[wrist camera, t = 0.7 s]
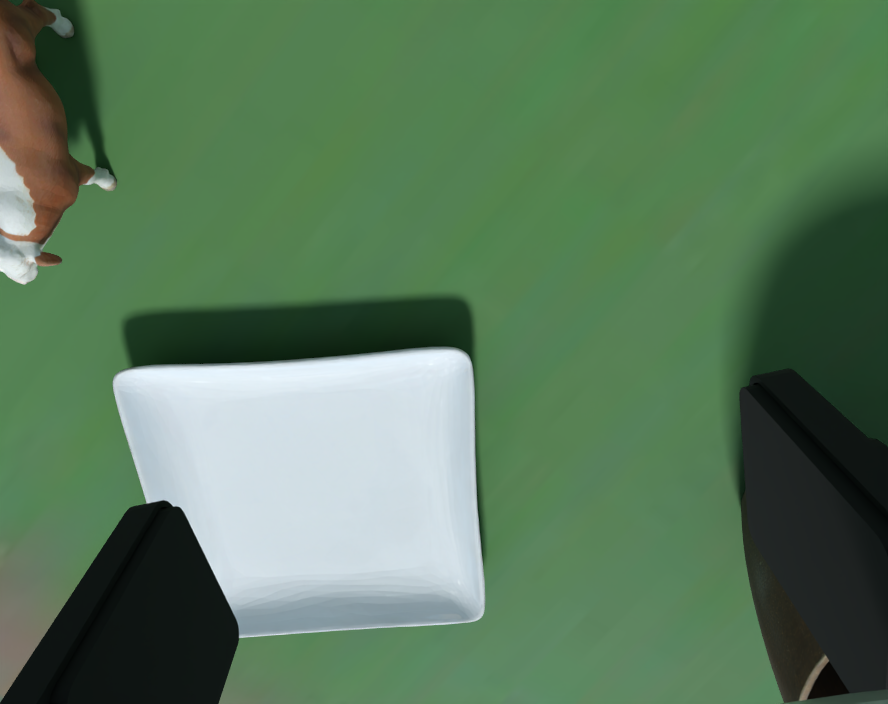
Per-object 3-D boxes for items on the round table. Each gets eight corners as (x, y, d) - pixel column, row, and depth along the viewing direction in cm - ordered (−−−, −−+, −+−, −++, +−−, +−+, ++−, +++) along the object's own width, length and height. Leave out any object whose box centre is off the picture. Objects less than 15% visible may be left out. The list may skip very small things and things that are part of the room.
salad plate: (469, 325, 42) (472, 347, 39) (483, 591, 50) (487, 627, 47) (126, 347, 42) (101, 371, 39) (199, 607, 51) (183, 644, 48)
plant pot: (683, 418, 44) (805, 602, 30) (919, 383, 43) (1165, 555, 29) (687, 592, 50) (790, 816, 36) (894, 564, 49) (1086, 782, 35)
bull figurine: (57, 251, 39) (-32, 300, 32) (-7, -14, 34) (-132, -30, 26) (133, 251, 39) (63, 300, 32) (82, -13, 34) (-17, -30, 26)
